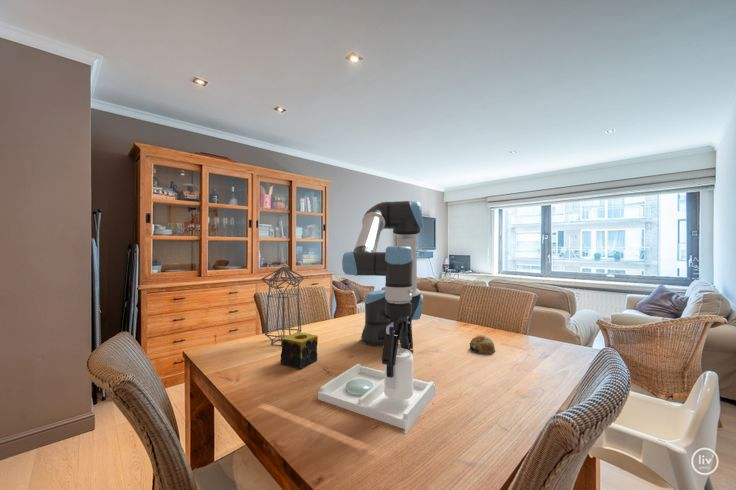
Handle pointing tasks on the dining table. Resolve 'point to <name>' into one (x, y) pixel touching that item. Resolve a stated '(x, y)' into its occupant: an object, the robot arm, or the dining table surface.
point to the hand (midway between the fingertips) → (398, 381)
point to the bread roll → (482, 345)
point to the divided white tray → (378, 397)
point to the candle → (299, 350)
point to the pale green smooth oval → (358, 387)
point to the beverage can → (401, 376)
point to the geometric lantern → (286, 270)
